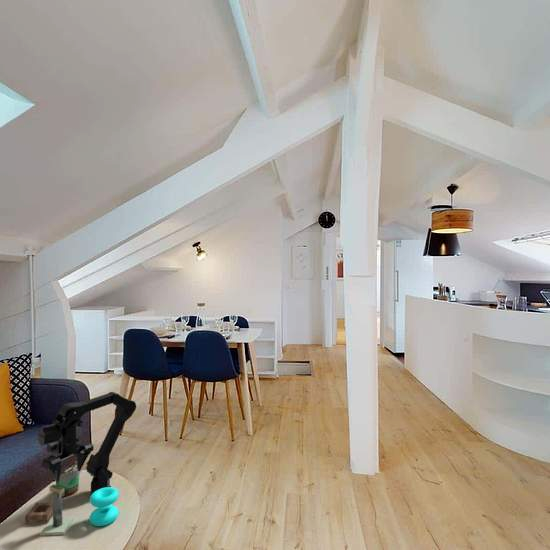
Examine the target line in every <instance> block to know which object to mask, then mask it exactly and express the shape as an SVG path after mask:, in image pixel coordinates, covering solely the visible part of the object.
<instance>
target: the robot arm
mask: <svg viewBox="0 0 550 550" xmlns="http://www.w3.org/2000/svg"><path fill="white" fill-rule="evenodd" d="M136 403H137V402H135V401H134V400H132V399H128V398H126V397H123V396H122V395H120V394H119V393H118V392H114V391H110V392H108V393H106V394H102V395H100V396H96V397H93V398H90V399H87V400H85V401H80V402H79V401H75V402H68V403H64V404H62V405H61V407H60V408H59V410H58V413H57V414H56V416H55V417H54V419H53V421H52V423H51V424H48V425H42V426H41V427H40V430H39V432H38V434H37V439H38V443H39V445H40V446H42V447H43V446H46V452H47V453H51V454H52V455H49V456H47V457H45V458H42V461H41V468H44V469H48V470H50V471H51V474H53V477H54V479H55V480H54V481H55V483H56V482H59V479H60V474H61V473H62V472H61V471H62V465H61V464H62V461H63V460H66V459H68V458H70V457H72V456H74V455H76V457H77V461H76V462H77V469H78V471H80V470H81V469H82V468H83V466H84V464H85V462H86V460H87V459H88V457H89V459H88V460H87V462H86V466H85V469H86V472H87V474H89V475H90V476H91V477H92V479H91V482H90V494H89V495H90V497H91V495H92V494H93V493H94V492H95V491H97V490H99V489H101V488H105V487H112V485H111V479H112V477H113V474H114V472H112V471H111V470H109V469H108V468H109V464H110V456H111V453H112V451H113V448H114V446H115V444H116V443H117V441H118V438H119V436H120V433H121V431H122V429H123V428H124V426H125V423H126V422H127V421H128V420H129V419H130V418H131V417H132V416H133V415H134V413H135V411H136V409H137V404H136ZM112 404H113V405H115V409H114V419H113V421H112V423H111V425H110V426H109V429H108V431H107V433H106V434H105V437H104V439H103V441H102V443H101V445H100V448H99V449H98V451H97V452H96V453H95V454H93V453H92V451H94V444H93V443H92V442H88V441H82V442H79V441H80V438H78V425H80V424H82V423H84V421H83V420H81V419H80V418H82V417H83V416H84V415H85V414H86V413H89V412H92V411H95V410H97V409H100V408H103V407H106V406H109V405H112ZM63 419H64V420H63ZM78 442H79V443H78ZM54 453H56V455H57V456H55V455H53V454H54ZM59 454H60V455H59ZM89 455H90V456H89ZM81 471H82V470H81Z"/></svg>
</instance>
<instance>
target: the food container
mask: <svg viewBox="0 0 550 550" xmlns="http://www.w3.org/2000/svg"><path fill="white" fill-rule="evenodd" d="M81 472H82V468H81V470H80V471H78V469H77V461H74V464H72V465H71V466H69V467H68V468H65V469H64V470H63V471H62V472H60V479H59V482H56V480H55V478H54V481H55V485H57V486H60V487H63V488H64V493H63V494H62V499H64V498H68V497H71V496H73V495H75V494H76V493H78V490H79V485H80V474H81Z"/></svg>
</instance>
